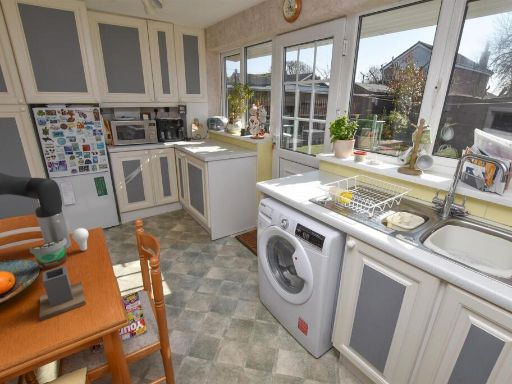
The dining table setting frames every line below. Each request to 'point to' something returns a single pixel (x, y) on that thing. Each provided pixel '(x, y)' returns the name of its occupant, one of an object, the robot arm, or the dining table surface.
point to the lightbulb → (81, 238)
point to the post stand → (77, 301)
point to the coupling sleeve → (57, 286)
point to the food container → (50, 254)
